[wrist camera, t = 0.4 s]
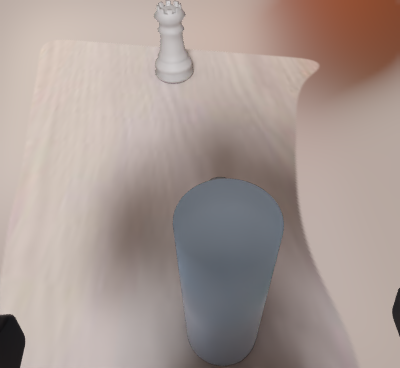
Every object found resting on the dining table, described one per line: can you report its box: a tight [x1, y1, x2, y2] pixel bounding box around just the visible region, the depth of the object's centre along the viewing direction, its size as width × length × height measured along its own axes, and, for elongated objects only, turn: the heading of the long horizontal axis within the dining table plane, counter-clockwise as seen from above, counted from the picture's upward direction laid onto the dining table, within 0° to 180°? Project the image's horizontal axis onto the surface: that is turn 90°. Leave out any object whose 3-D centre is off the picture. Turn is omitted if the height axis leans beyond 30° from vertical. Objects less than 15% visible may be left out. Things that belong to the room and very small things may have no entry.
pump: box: [173, 177, 284, 366], centre depth 20 cm, size 6×4×12 cm
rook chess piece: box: [154, 0, 193, 84], centre depth 41 cm, size 4×4×8 cm
